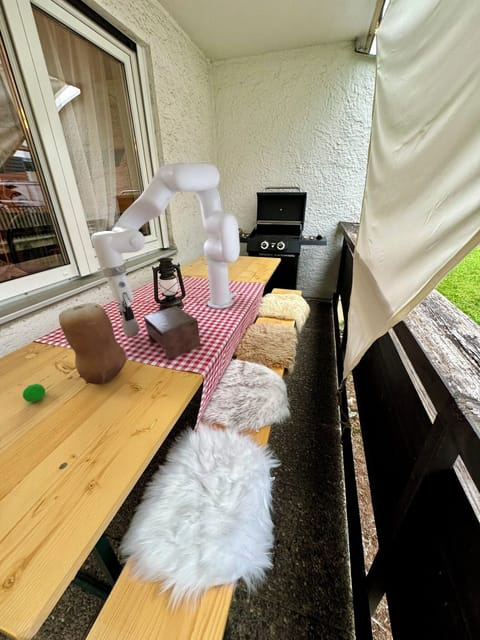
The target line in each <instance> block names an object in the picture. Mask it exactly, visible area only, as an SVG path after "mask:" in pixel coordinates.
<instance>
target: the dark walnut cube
mask: <svg viewBox="0 0 480 640" xmlns="http://www.w3.org/2000/svg"><path fill="white" fill-rule="evenodd" d="M143 319H144V323H145V328H146V333H147V336H148V341H149V342H150V343H154V342H157V343H158V344H159V346H161V347H162V348H163V349H164V352H165V355H166V360H167V361H171V360H173V359H174V358H178V357H180V356H182V355H184V354H186V353H188V352H190V351H191V352H192V351H193V350H195V349H198V348H199V347H201V346H202V345H201V337H200V329H199V321H198V320H199V319H197V318H195V317H194V316H192V315H190V314H189V313H188V312H186V311H184V310H183V309H182V308H180V307H179V306H178V305H174V306H171V307H168V308H165V309H162V310H159V311H155V312H152V313H149V314H147V315H146V314H145V315H144V316H143Z"/></svg>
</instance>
